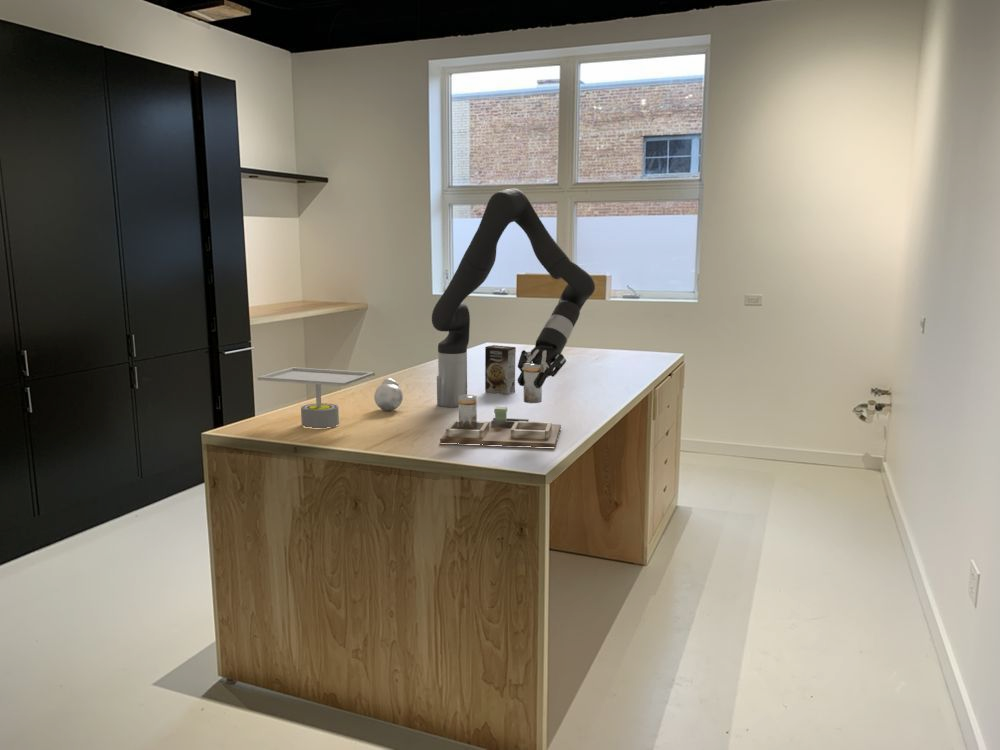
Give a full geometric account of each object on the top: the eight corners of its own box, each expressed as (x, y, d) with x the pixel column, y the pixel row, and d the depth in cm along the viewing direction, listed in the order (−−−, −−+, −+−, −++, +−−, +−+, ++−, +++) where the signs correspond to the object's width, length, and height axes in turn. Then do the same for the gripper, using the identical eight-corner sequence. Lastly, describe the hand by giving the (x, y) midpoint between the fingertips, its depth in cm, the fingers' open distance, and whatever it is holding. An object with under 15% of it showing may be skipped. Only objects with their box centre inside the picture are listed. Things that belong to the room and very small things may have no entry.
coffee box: (484, 392, 261) (484, 346, 258) (493, 389, 267) (493, 344, 264) (507, 395, 257) (507, 348, 254) (516, 391, 263) (516, 346, 260)
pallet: (440, 444, 196) (439, 431, 195) (456, 425, 215) (456, 413, 214) (554, 449, 191) (554, 435, 190) (560, 429, 210) (560, 417, 210)
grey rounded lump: (410, 408, 236) (409, 377, 234) (391, 414, 228) (390, 382, 226) (387, 405, 241) (386, 375, 239) (368, 411, 233) (367, 380, 231)
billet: (522, 403, 197) (522, 365, 195) (524, 399, 201) (524, 362, 200) (540, 403, 196) (540, 365, 194) (542, 399, 201) (542, 362, 199)
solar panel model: (260, 428, 212) (257, 376, 209) (295, 415, 228) (293, 366, 225) (346, 437, 203) (344, 382, 200) (376, 422, 219) (375, 372, 216)
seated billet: (457, 434, 199) (456, 398, 197) (460, 430, 204) (460, 394, 202) (475, 435, 199) (474, 398, 197) (478, 430, 203) (478, 394, 201)
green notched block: (494, 425, 208) (494, 408, 208) (496, 422, 212) (496, 406, 211) (505, 425, 208) (505, 409, 207) (507, 423, 211) (507, 406, 210)
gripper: (582, 346, 201) (556, 397, 194) (539, 341, 210) (513, 390, 203) (571, 328, 196) (544, 380, 189) (528, 324, 205) (500, 374, 198)
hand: (528, 385), depth 196 cm, fingers closed on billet, 4 cm apart
